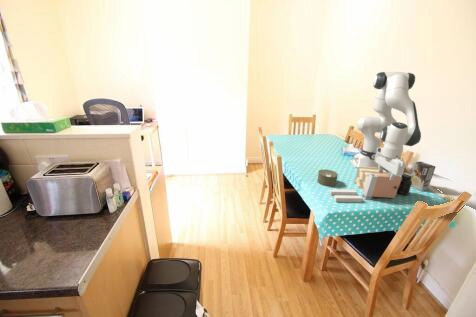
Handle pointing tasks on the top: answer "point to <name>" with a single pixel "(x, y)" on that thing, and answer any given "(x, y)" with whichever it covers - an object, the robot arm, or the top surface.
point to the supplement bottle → (404, 185)
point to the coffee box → (422, 175)
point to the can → (327, 178)
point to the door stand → (345, 195)
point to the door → (381, 186)
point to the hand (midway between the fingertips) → (385, 176)
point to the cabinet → (366, 177)
